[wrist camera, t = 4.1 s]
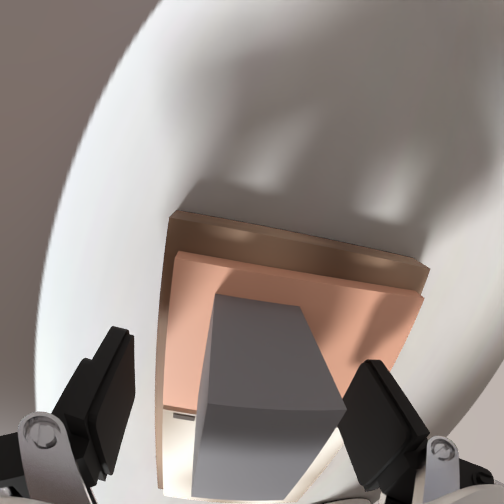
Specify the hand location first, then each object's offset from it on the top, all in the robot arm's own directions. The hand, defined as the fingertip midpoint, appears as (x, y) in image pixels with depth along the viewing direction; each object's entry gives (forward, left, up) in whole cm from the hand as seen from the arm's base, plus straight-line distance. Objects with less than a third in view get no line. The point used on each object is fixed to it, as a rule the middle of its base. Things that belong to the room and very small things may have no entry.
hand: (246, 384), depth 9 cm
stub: (-2, 0, -2) cm, 3 cm away
